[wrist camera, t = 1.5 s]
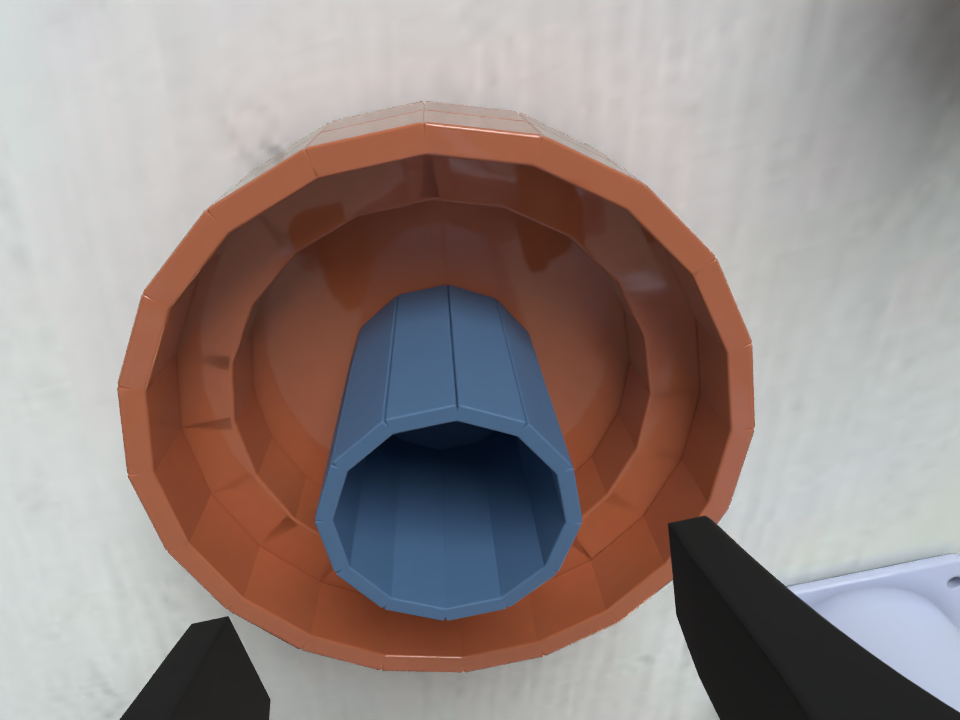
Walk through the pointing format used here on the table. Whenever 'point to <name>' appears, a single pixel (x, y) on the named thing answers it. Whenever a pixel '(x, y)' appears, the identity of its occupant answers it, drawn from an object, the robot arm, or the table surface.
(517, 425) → the blue cup
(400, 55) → the table surface
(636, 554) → the bowl
